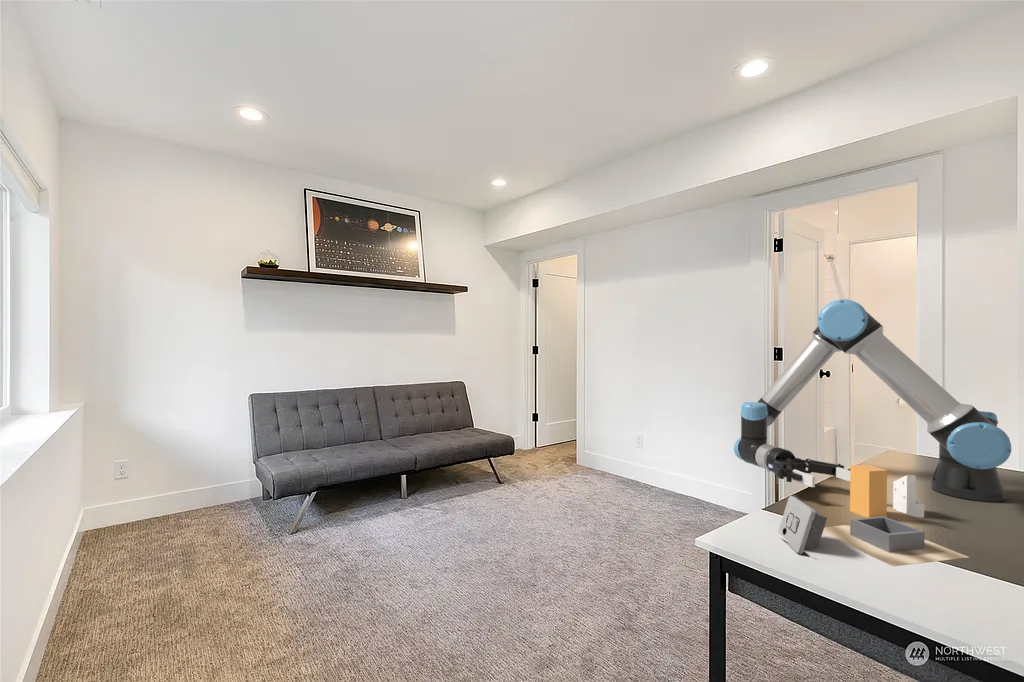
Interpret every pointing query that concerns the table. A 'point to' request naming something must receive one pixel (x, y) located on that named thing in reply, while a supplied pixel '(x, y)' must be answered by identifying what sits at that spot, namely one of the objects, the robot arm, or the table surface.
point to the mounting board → (894, 558)
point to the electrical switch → (801, 525)
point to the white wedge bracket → (907, 496)
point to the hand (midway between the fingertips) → (836, 480)
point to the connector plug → (868, 491)
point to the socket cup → (887, 534)
